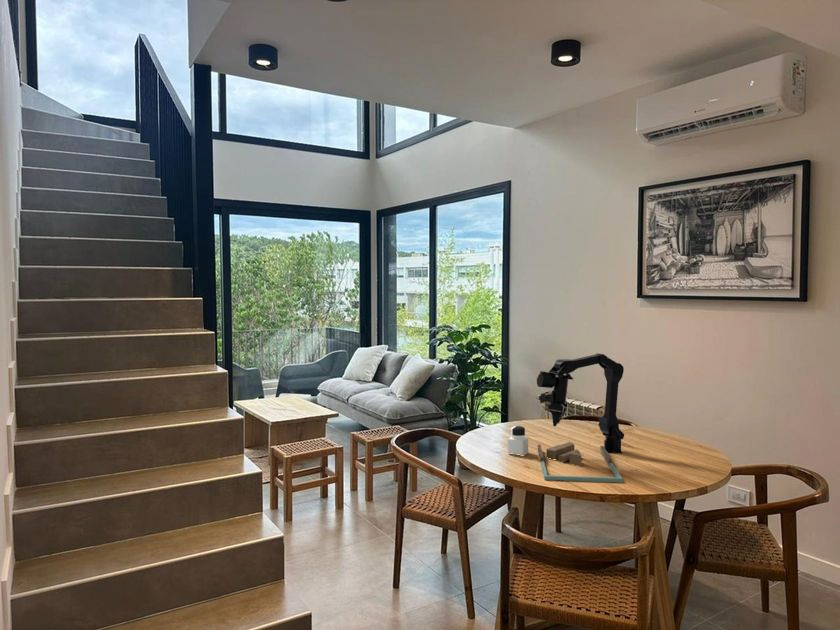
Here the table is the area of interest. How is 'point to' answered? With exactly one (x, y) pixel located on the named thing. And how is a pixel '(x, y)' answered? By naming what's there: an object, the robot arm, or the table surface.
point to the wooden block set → (565, 453)
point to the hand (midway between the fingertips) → (556, 424)
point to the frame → (584, 478)
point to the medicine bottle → (518, 441)
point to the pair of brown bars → (602, 450)
